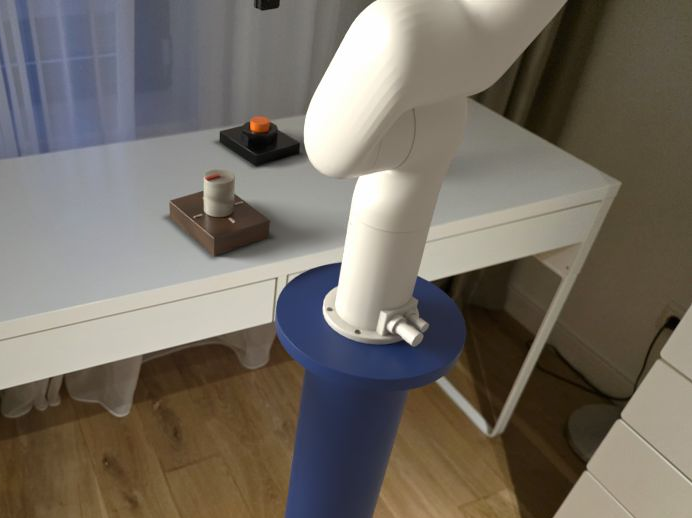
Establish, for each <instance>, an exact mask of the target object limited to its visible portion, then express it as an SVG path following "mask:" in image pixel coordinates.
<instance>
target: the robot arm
mask: <svg viewBox="0 0 692 518" xmlns="http://www.w3.org/2000/svg"><path fill="white" fill-rule="evenodd" d="M567 2H568V0H374V1H373V2H372V3H370V4H369V5H368V6H366V7H365V8H364V9H363V10H362V11H361V12H359V14H358V15H357V17H356V18H355V19H354V21H353V22H352V23H351V25H350V27H349V29H348V30H347V32H346V33H345V35H344V38H343V39H342V41H341V42H340V45H338V46H339V47H338V49H337V50H336V52H335V54H334V55H333V58H332V59H331V62H330V63H329V65H328V67H327V69H326V71H325V72H324V75H323V76H322V78H321V80H320V81H319V84H318V85H317V88H316V89H315V91H314V93H313V96H312V97H311V100H310V103H309V105H308V108H307V112H306V115H305V120H304V126H303V143H304V149H305V152H306V155H307V157H308V160H309V162H310V163H311V165H312V166H313V167H314V168H315V170H317V171H318V172H319V173H321V174H322V175H323V176H326V177H329V178H330V179H337V180H347V179H353V178H358V179H357V181H356V183H355V186H354V190H353V193H352V198H351V205H350V211H349V215H348V216H349V217H348V222H347V228H346V236H345V241H344V245H343V246H344V247H343V253H342V260H341V262H342V265H341V271H340V277H339V284H338V286H337V287H335V288H334V289H332V290H331V291H330V292H329V293H328V294H327V295H326V297H325V299H324V303H323V315H324V318H325V320H326V321H327V323H328V324H329V325H330V326H331V327H332V328H333V329H334V330H335V331H336V332H338V333H339V334H341V335H342V336H344V337H346V338H348V339H351V340H354V341H357V342H361V343H366V344H374V345H382V344H391V343H396V342H399V341H402V340H405V341H406V342H408V343H409V344H410V345H412V346H413V347H415V346H417V345H418V344H420V342H421V341H422V339H423V334H422V333H423V332H425V331H426V330H427V329H428V327H429V324H428V323H427V322H425V321H424V320H423V319H421V318H419V312H418V309H417V304H418V300H417V299H416V298H414V297H413V296H412V295H413V291H414V287H415V283H416V279H417V276H419V275H418V274H419V271H420V268H421V267H420V266H421V263H422V260H423V256H424V253H425V252H424V251H425V247H426V244H427V239H428V236H429V233H430V228H431V225H432V220H433V218H434V214H435V210H436V206H437V202H438V199H439V196H440V192H441V188H442V185H443V183H444V180H445V178H446V175H447V172H448V171H449V168H450V166H451V164H452V162H453V160H454V158H455V156H456V154H457V153H458V149H459V147H460V145H461V143H462V141H463V138H464V135H465V132H466V129H467V126H468V119H469V103H468V97H471V96H474V95H477V94H479V93H482V92H484V91H486V90H487V89H490V88H491V87H492V86H493V85H494V84H495V83H496V82H498V80H500V78H501V77H502V76H503V75H504V74H505V73H506V72H507V71H508V70H509V69H510V68H511V67H512V65H514V63H515V62H516V61H517V59H519V58H520V56H521V55H522V54H523V53H524V52H525V50H527V48H528V47H529V46H530V45H531V44H532V42H533V41H534V40H536V38H537V37H538V36H539V35H540V33H541V32H542V31H543V30H544V29H545V28H546V27H547V25H548V24H549V23H550V22H551V21H552V20H553V18H555V16H556V15H557V14H558V13H559V12H560V11H561V10H562V8H563V7H564V5H565V4H566V3H567ZM280 4H281V0H253V7H254V8H255V9H257V10H259V11H261V12H264V11H270V10H276V9H279V7H280V6H281V5H280ZM417 329H418V330H419V331H421V332H422V333H421V332H419V331H418V330H417Z"/></svg>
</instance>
